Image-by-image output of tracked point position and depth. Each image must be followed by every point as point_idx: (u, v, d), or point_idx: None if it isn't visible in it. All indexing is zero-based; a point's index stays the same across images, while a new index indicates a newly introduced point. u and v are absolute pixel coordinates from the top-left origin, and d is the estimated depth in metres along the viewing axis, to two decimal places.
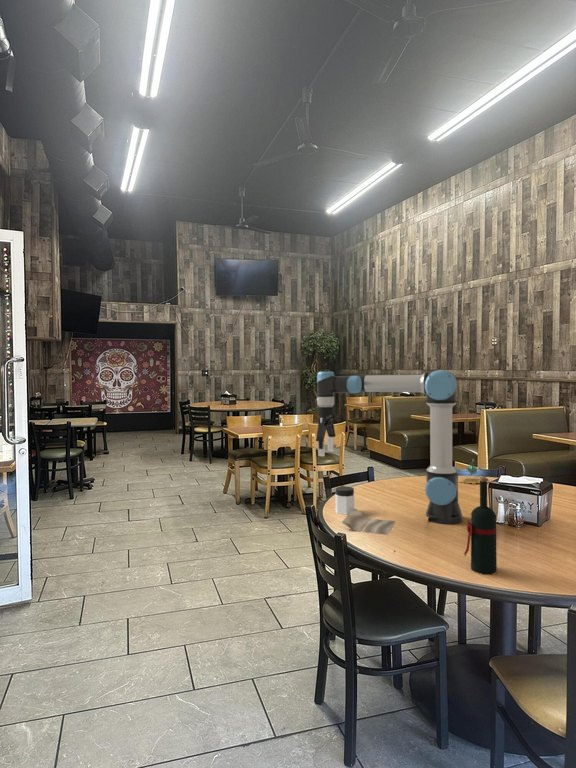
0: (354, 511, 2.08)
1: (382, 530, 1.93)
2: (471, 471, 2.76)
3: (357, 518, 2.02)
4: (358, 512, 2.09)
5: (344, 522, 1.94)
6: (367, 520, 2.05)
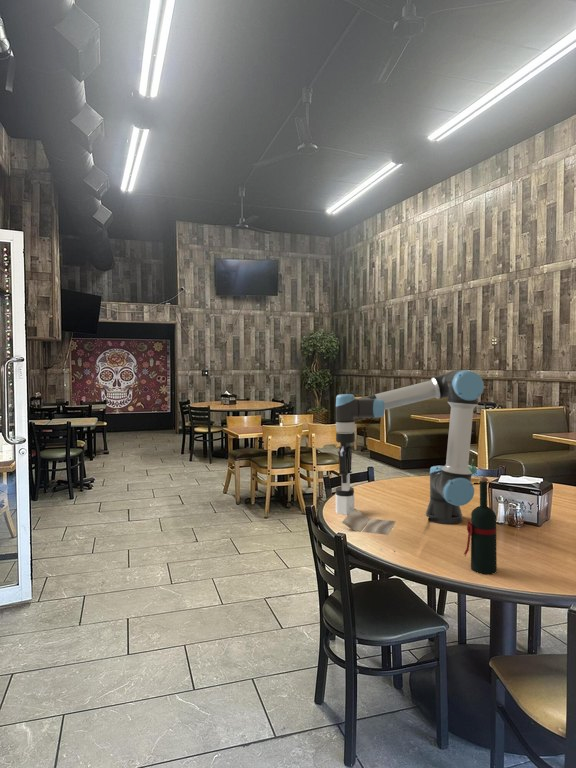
0: (354, 511, 2.08)
1: (382, 530, 1.93)
2: (471, 471, 2.76)
3: (357, 518, 2.02)
4: (358, 512, 2.09)
5: (344, 522, 1.94)
6: (367, 520, 2.05)
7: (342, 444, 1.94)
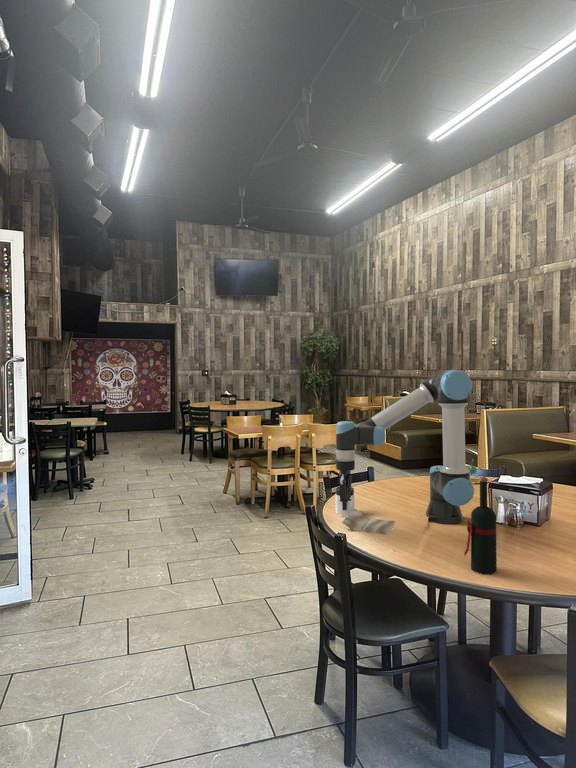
0: (354, 511, 2.08)
1: (382, 530, 1.93)
2: None
3: (356, 518, 2.02)
4: (358, 512, 2.09)
5: (344, 522, 1.94)
6: (367, 520, 2.05)
7: (342, 472, 1.94)
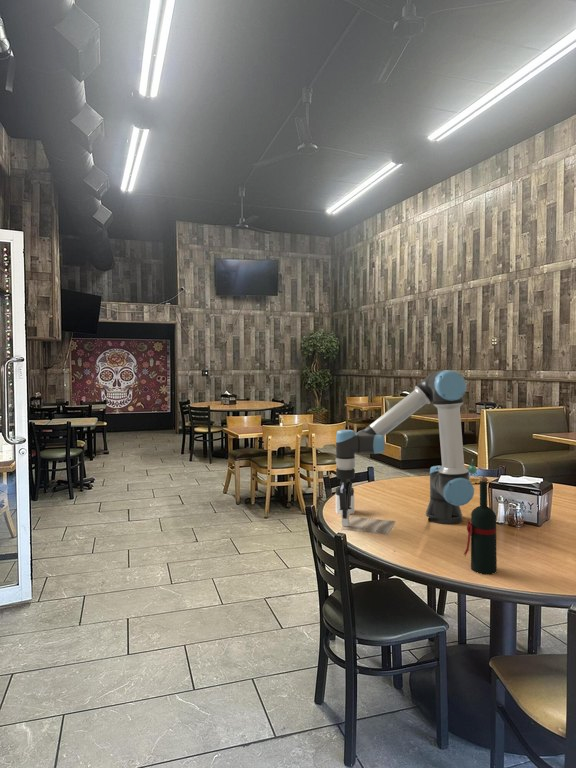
0: (352, 518, 2.08)
1: (382, 530, 1.93)
2: (471, 471, 2.76)
3: (355, 522, 2.02)
4: (357, 518, 2.09)
5: None
6: (367, 521, 2.05)
7: (342, 480, 1.94)
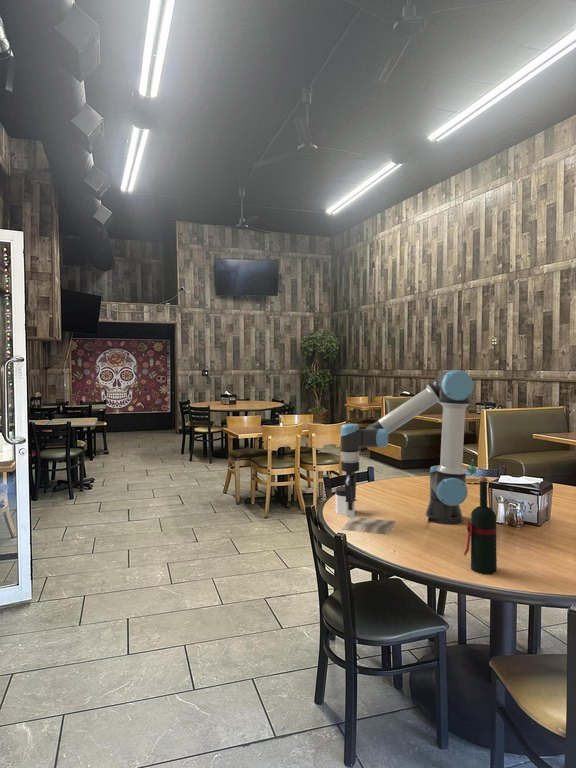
0: (352, 518, 2.08)
1: (382, 530, 1.93)
2: (471, 471, 2.76)
3: (355, 522, 2.02)
4: (357, 518, 2.09)
5: None
6: (367, 521, 2.05)
7: (347, 473, 2.00)
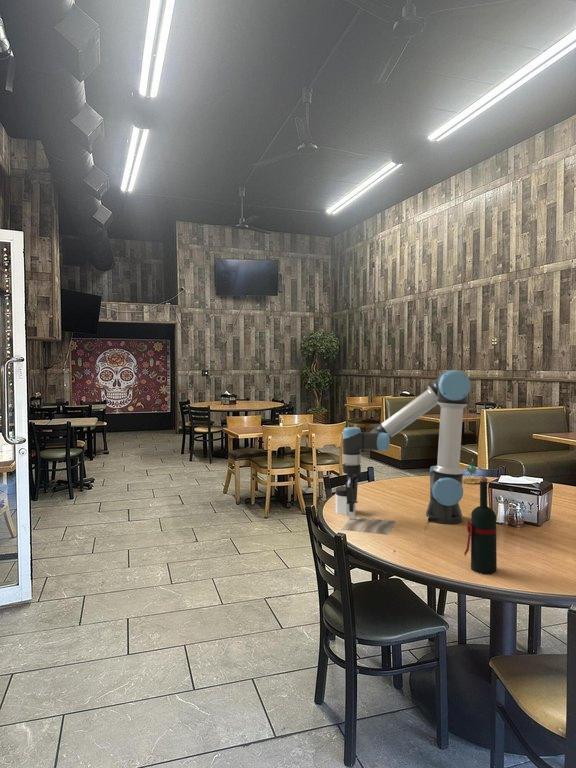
0: None
1: (382, 530, 1.93)
2: (471, 471, 2.76)
3: (355, 522, 2.02)
4: (357, 518, 2.09)
5: None
6: (367, 521, 2.05)
7: (349, 475, 2.03)
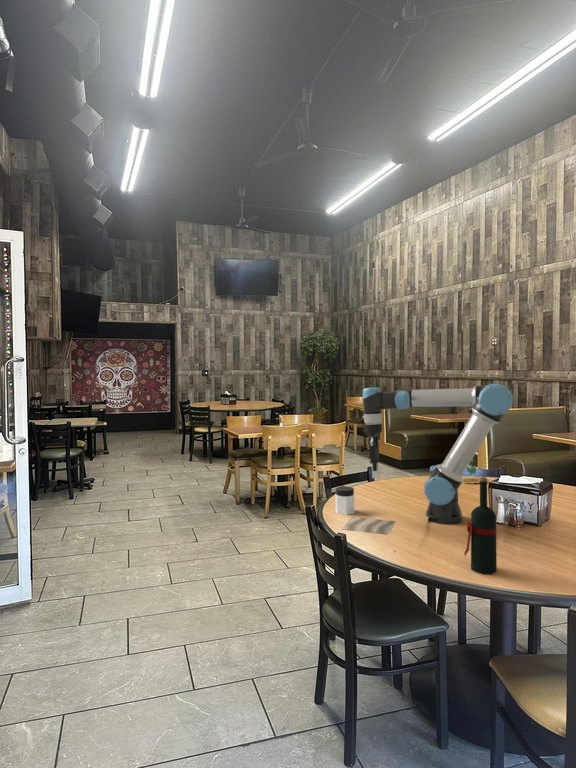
0: (352, 518, 2.08)
1: (382, 530, 1.93)
2: (470, 471, 2.76)
3: (355, 523, 2.02)
4: (357, 518, 2.09)
5: None
6: (367, 521, 2.05)
7: (371, 434, 2.06)
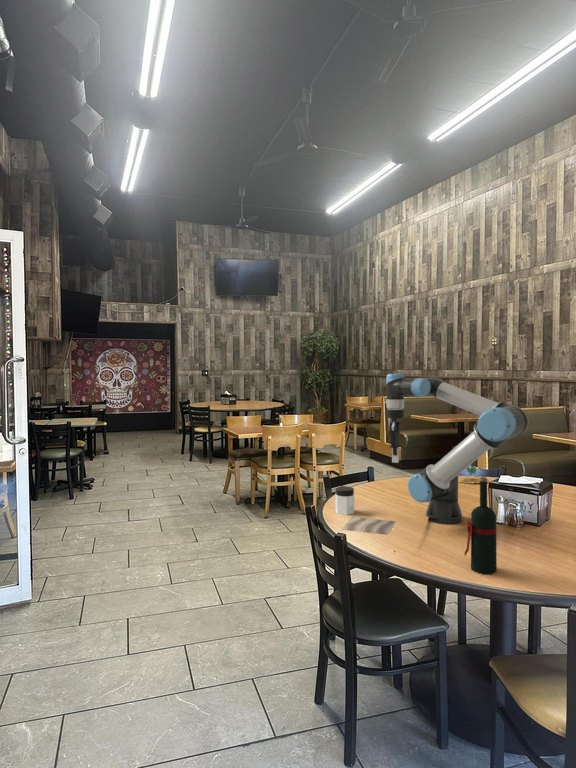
0: (352, 518, 2.08)
1: (382, 530, 1.93)
2: (470, 471, 2.76)
3: (355, 523, 2.02)
4: (357, 518, 2.09)
5: None
6: (367, 521, 2.05)
7: (393, 419, 2.10)
